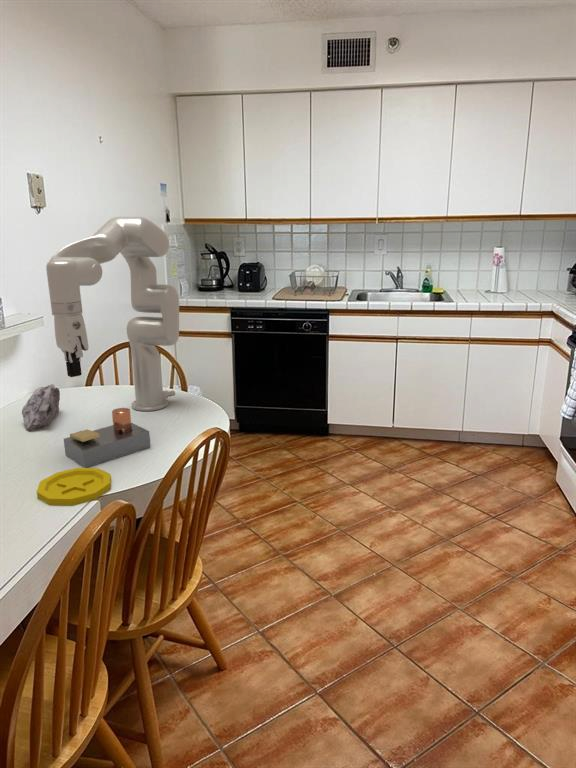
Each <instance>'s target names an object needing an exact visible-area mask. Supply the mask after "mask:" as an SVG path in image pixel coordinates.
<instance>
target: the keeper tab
mask: <svg viewBox="0 0 576 768" xmlns="http://www.w3.org/2000/svg"><path fill="white" fill-rule="evenodd" d="M69 437H71V438H74V439H76V440H79V441H82V442H84V441H87V440H91V439H94V438H98V437H100V435H99V433H97V432H94V430H90V429H84V430H80V431H77V432H73V433H69Z"/></svg>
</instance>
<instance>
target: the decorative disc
mask: <svg viewBox="0 0 576 768" xmlns="http://www.w3.org/2000/svg"><path fill="white" fill-rule="evenodd" d="M111 475H112V474H111V473H109V472H107V471H105V470H103V469H101V468H99V467H87V468H84V467H75V468H72V469H70V468H69V469H67V470H62V471H58V472H55V473H53V474H51V475H50V476H48V477H46V478H44V479H43V480H40V481H39V484H38V486H37V489H36V496H37V499H39V500H40V501H42V502H44V503H45V504H47V505H49V506H75V505H79V504H82V503H87V502H90V501H94V500H97V499H99V498H100V497H101V496H103V495H104V494H106V493H107V492H109V491H110V490H111V489H112V488H111V487H112V476H111Z"/></svg>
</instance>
